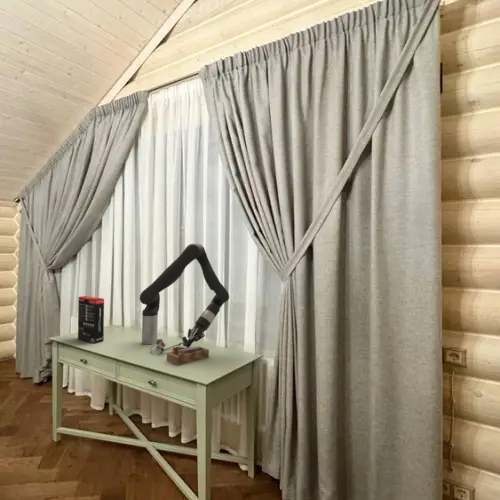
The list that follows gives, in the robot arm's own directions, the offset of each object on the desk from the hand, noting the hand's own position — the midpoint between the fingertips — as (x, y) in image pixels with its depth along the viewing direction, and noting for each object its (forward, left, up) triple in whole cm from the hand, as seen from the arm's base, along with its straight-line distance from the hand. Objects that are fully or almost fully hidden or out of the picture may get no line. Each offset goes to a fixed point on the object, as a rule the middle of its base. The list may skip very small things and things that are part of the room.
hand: (186, 346), depth 178 cm
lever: (-1, +1, -2) cm, 2 cm away
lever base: (-1, +1, -7) cm, 7 cm away
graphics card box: (-43, -60, -7) cm, 74 cm away
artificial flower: (-16, -10, -7) cm, 20 cm away
